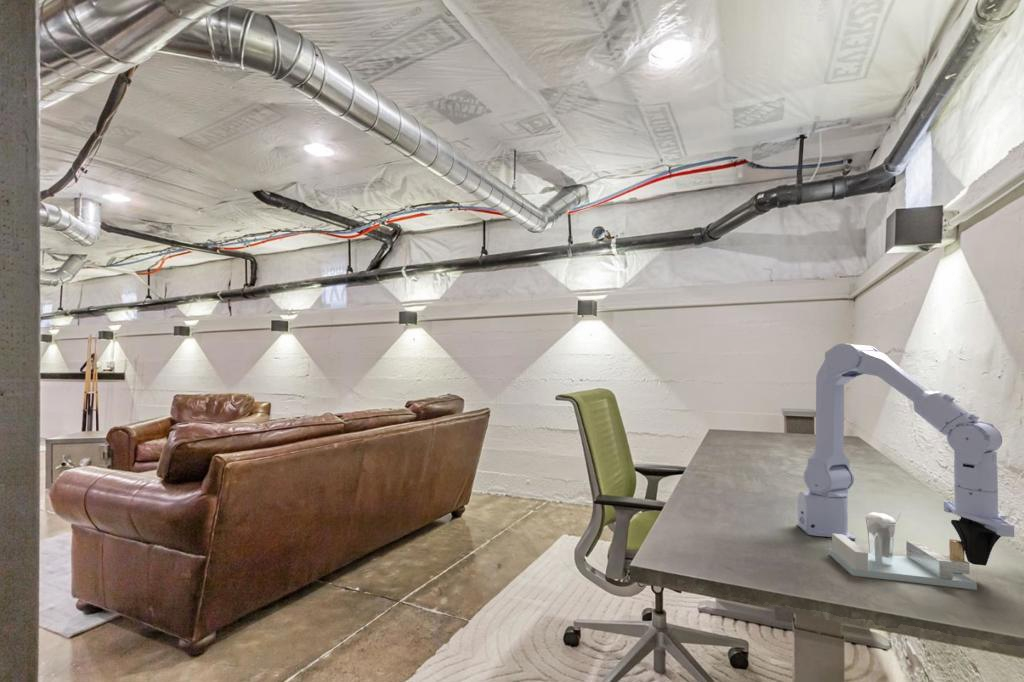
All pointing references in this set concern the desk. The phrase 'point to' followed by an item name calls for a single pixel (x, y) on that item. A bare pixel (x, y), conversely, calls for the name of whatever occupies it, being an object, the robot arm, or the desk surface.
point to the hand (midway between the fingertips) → (976, 563)
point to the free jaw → (939, 559)
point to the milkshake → (881, 537)
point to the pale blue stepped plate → (900, 569)
